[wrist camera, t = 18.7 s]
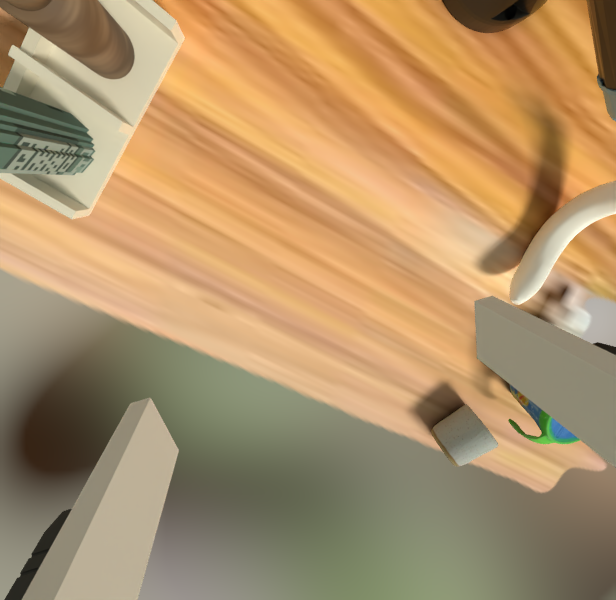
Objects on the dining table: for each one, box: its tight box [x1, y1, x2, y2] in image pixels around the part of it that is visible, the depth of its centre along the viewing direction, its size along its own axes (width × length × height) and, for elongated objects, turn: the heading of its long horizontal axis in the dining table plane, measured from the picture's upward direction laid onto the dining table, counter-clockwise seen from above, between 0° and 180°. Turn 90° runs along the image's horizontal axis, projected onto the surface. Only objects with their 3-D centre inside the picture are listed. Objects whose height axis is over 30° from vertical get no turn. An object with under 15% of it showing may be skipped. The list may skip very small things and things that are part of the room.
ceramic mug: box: [431, 405, 498, 466], centre depth 56 cm, size 11×8×8 cm
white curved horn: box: [509, 181, 616, 305], centre depth 42 cm, size 5×19×15 cm, turn 155°
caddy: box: [0, 0, 185, 219], centre depth 32 cm, size 22×10×4 cm, turn 144°
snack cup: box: [509, 385, 580, 444], centre depth 53 cm, size 16×10×10 cm
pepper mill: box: [0, 0, 135, 79], centre depth 24 cm, size 5×5×17 cm
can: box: [0, 87, 95, 175], centre depth 27 cm, size 6×6×15 cm
